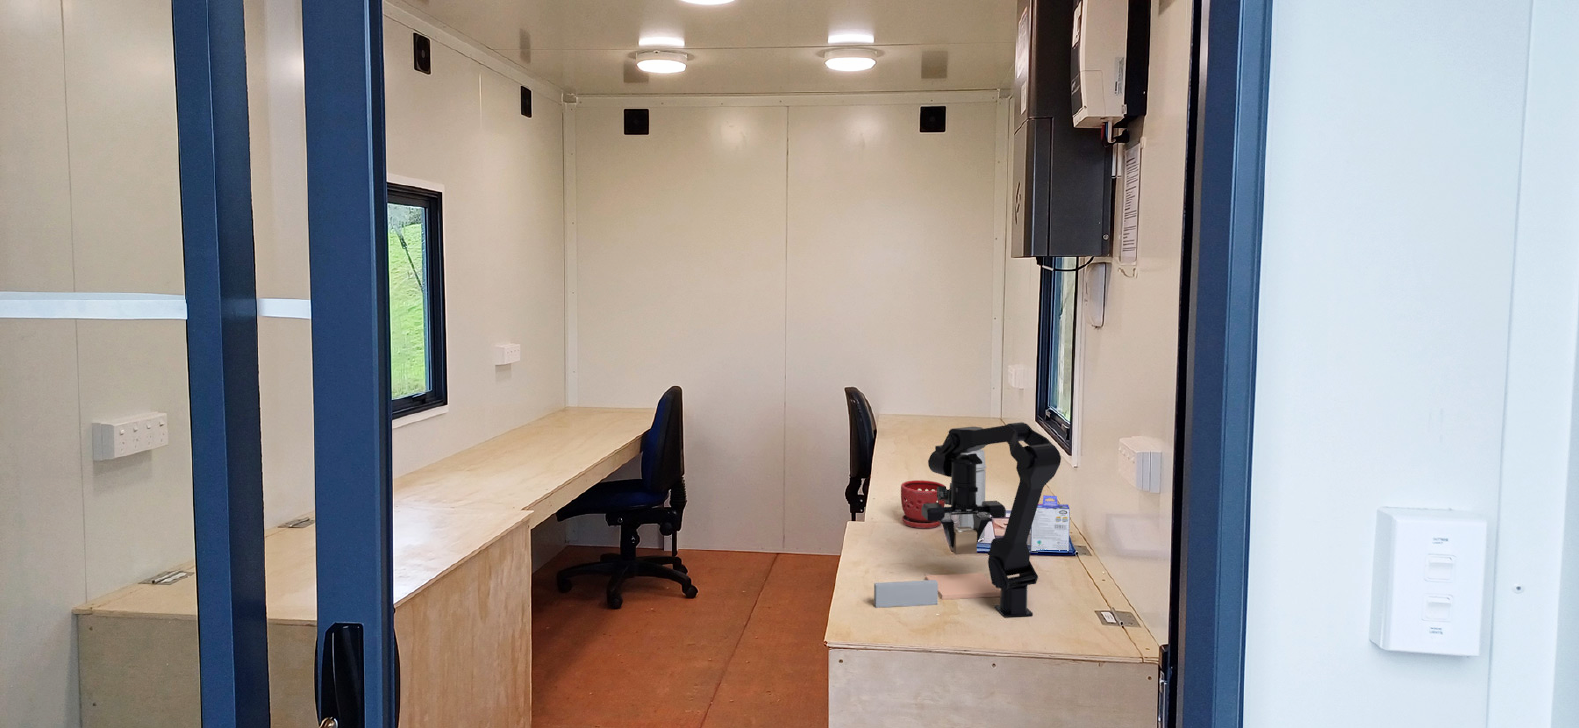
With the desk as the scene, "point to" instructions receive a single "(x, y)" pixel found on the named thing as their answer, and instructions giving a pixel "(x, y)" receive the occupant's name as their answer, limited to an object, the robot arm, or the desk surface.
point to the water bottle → (967, 519)
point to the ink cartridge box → (1050, 526)
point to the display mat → (964, 586)
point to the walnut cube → (964, 541)
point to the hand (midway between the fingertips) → (963, 546)
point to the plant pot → (919, 502)
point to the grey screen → (906, 593)
